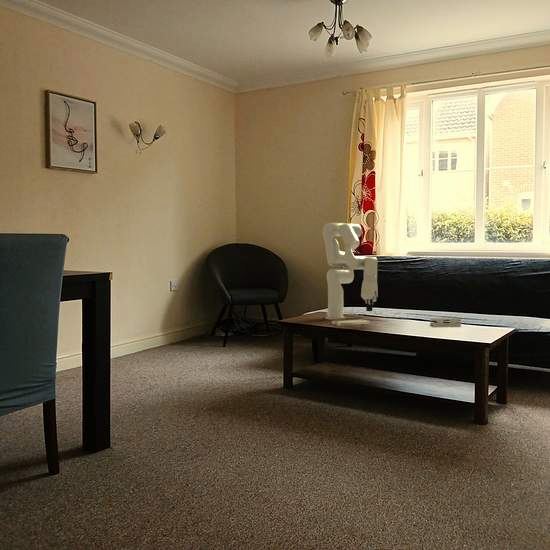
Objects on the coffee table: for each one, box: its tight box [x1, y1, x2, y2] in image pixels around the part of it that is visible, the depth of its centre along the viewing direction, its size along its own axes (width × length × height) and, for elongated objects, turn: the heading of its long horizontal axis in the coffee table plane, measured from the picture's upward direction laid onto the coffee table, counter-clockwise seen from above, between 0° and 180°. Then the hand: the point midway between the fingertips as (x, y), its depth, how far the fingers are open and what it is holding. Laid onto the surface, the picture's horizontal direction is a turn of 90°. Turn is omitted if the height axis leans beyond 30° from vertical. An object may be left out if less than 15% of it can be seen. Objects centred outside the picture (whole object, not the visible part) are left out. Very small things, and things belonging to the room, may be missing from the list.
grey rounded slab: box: [429, 317, 462, 328], centre depth 321 cm, size 17×5×10 cm
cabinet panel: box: [331, 316, 372, 327], centre depth 326 cm, size 10×20×4 cm, turn 118°
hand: (369, 310), depth 319 cm, fingers closed
